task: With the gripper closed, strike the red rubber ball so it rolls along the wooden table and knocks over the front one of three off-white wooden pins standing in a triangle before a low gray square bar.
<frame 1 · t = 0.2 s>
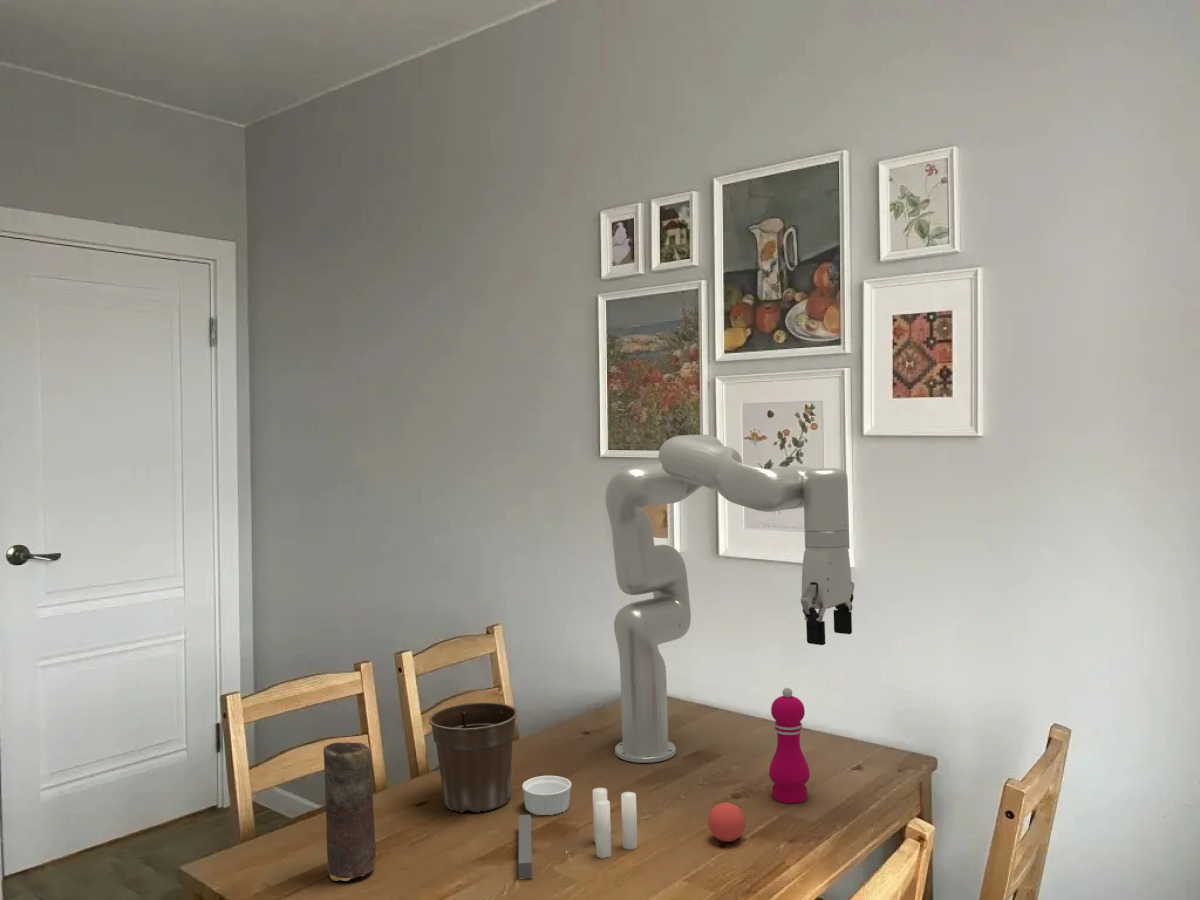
hand: (829, 638, 168), 31 cm above the table, tool pointing down, fingers open, 9 cm apart
ball: (726, 821, 159), on the table
plant pot: (476, 801, 179), on the table
pin 2: (603, 854, 155), on the table
ramekin: (547, 809, 175), on the table
pepper mill: (789, 798, 177), on the table
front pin: (630, 846, 158), on the table
gray square bar: (525, 852, 157), on the table
candle: (352, 873, 152), on the table
pin 1: (601, 841, 160), on the table
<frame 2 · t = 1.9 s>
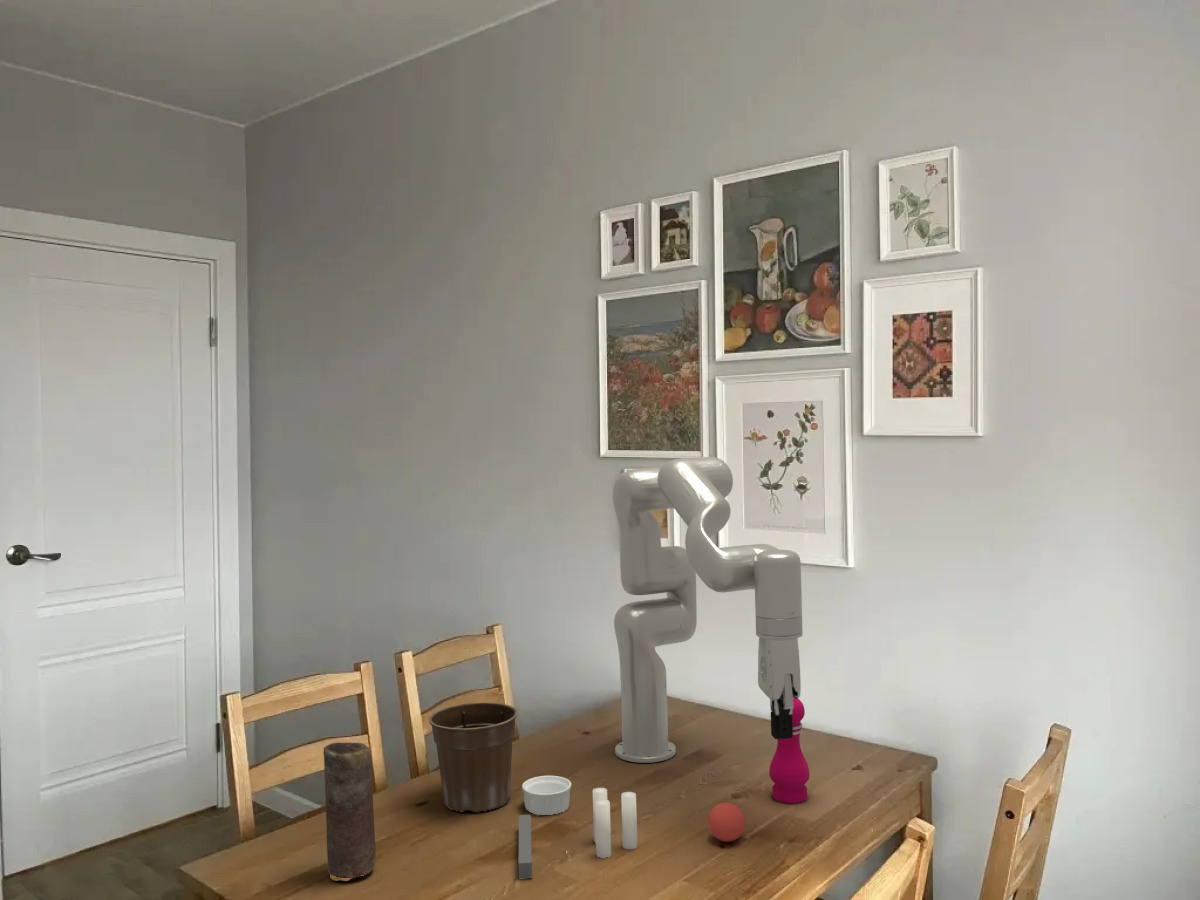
hand: (782, 736, 160), 17 cm above the table, tool pointing down, fingers closed
nothing on the table moved.
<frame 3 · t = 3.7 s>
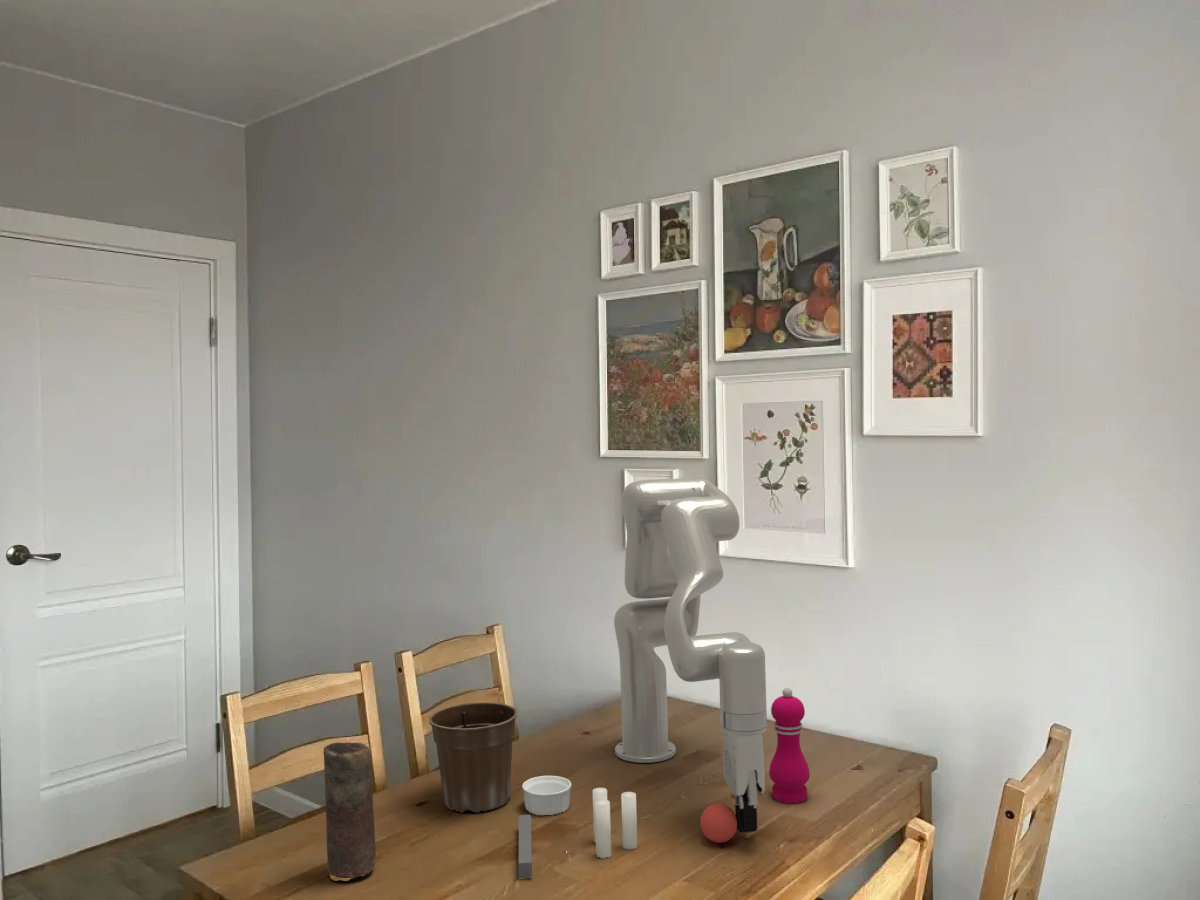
hand: (746, 829, 159), 2 cm above the table, tool pointing down, fingers closed
ball: (718, 822, 159), on the table, touching gripper
everything else where it was.
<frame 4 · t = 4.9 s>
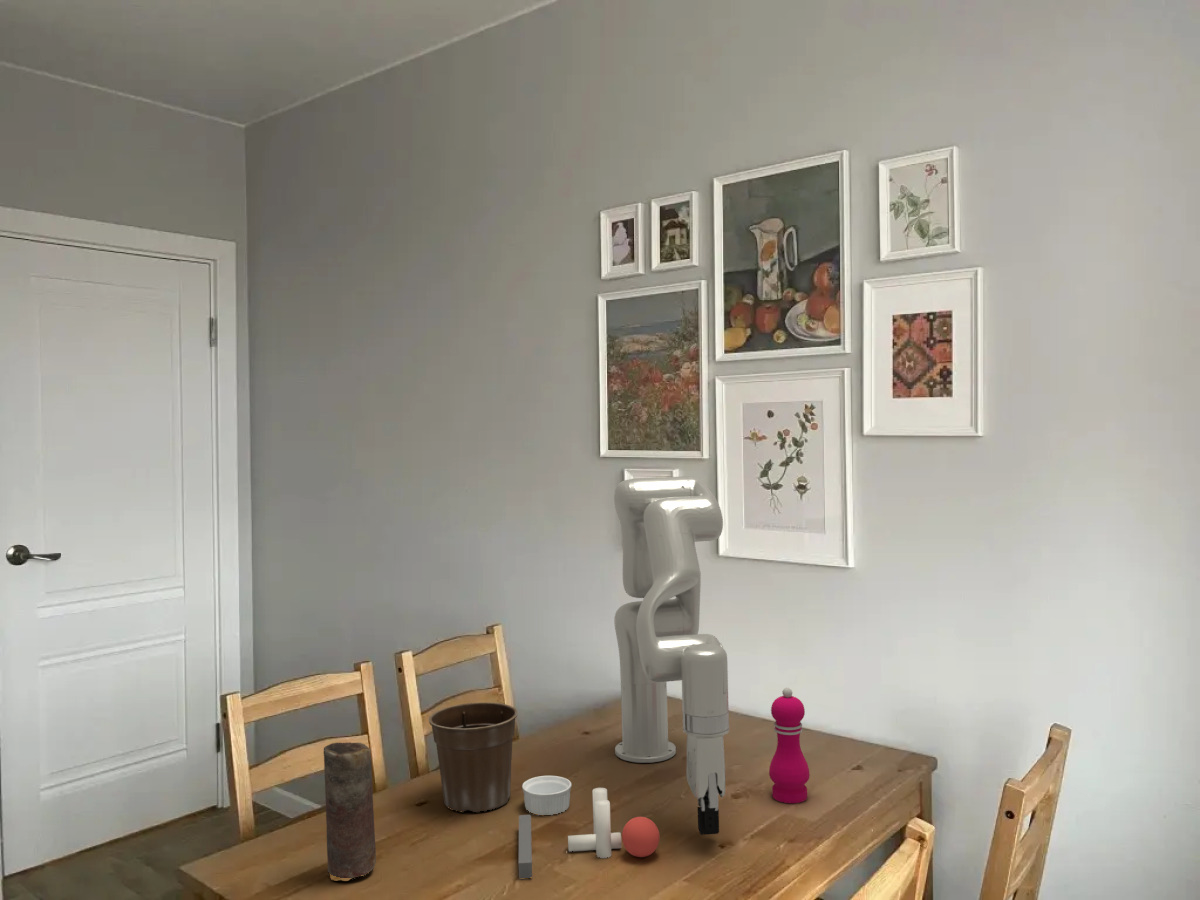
hand: (708, 832, 159), 2 cm above the table, tool pointing down, fingers closed
ball: (640, 836, 155), on the table
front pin: (620, 840, 158), point 1 cm above the table, tilted 90°
everything else where it was.
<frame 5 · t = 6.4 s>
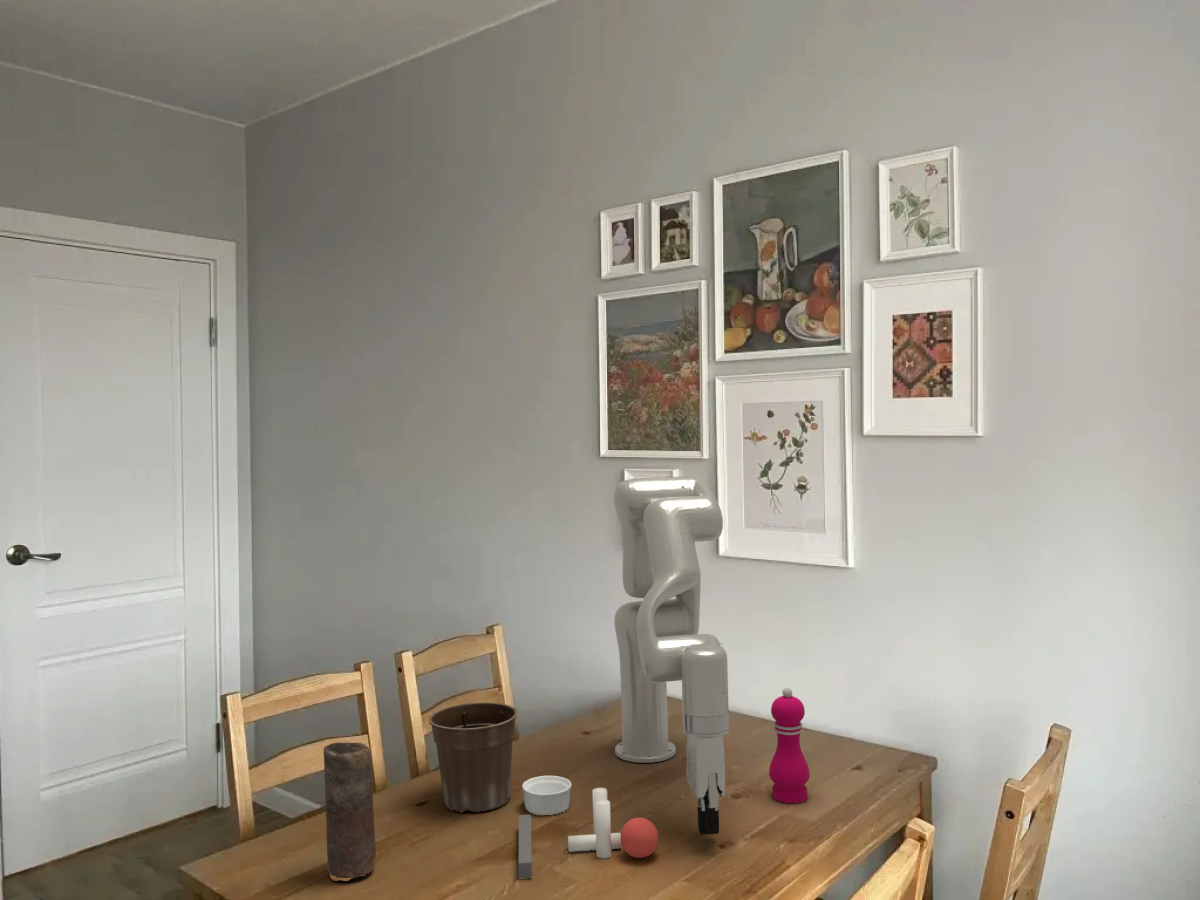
hand: (708, 832, 159), 2 cm above the table, tool pointing down, fingers closed
nothing on the table moved.
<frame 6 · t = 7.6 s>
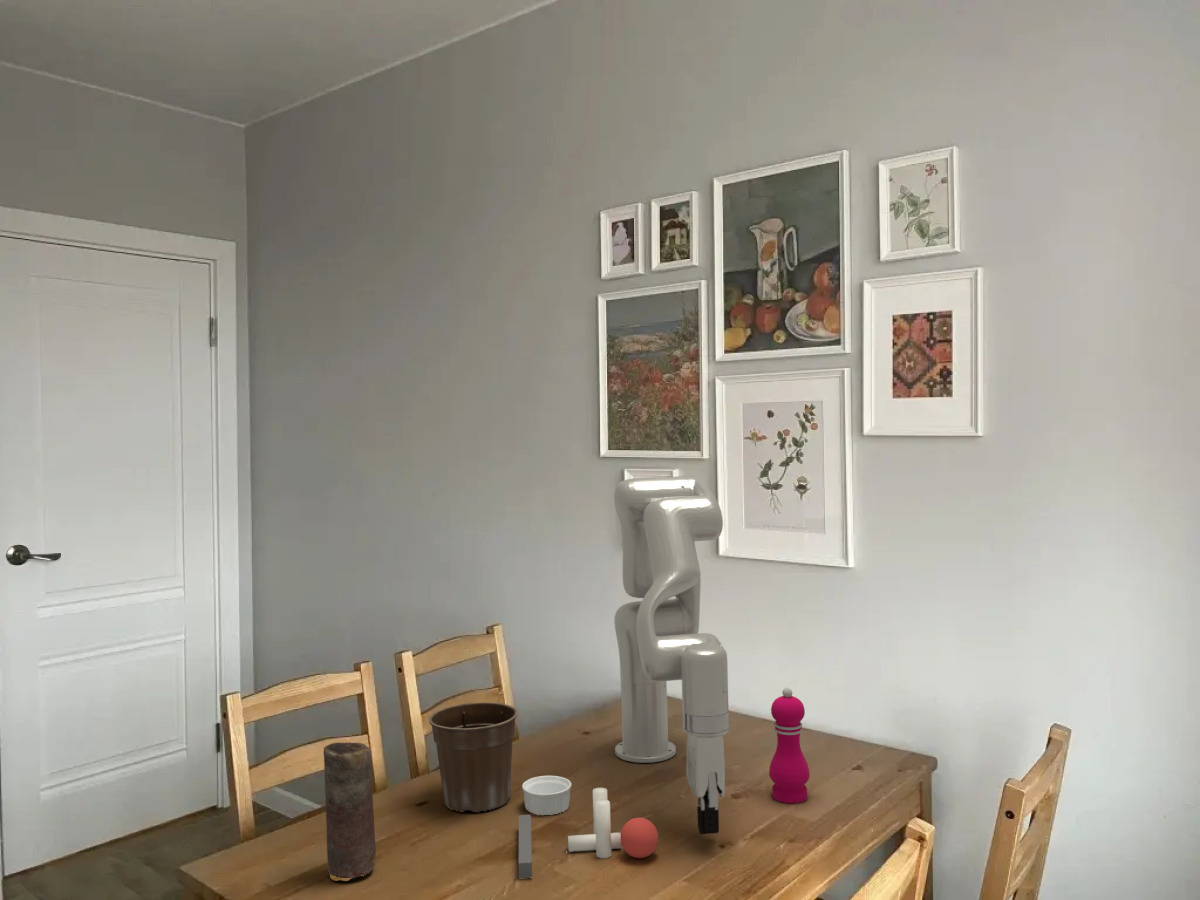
hand: (708, 831, 159), 2 cm above the table, tool pointing down, fingers closed
nothing on the table moved.
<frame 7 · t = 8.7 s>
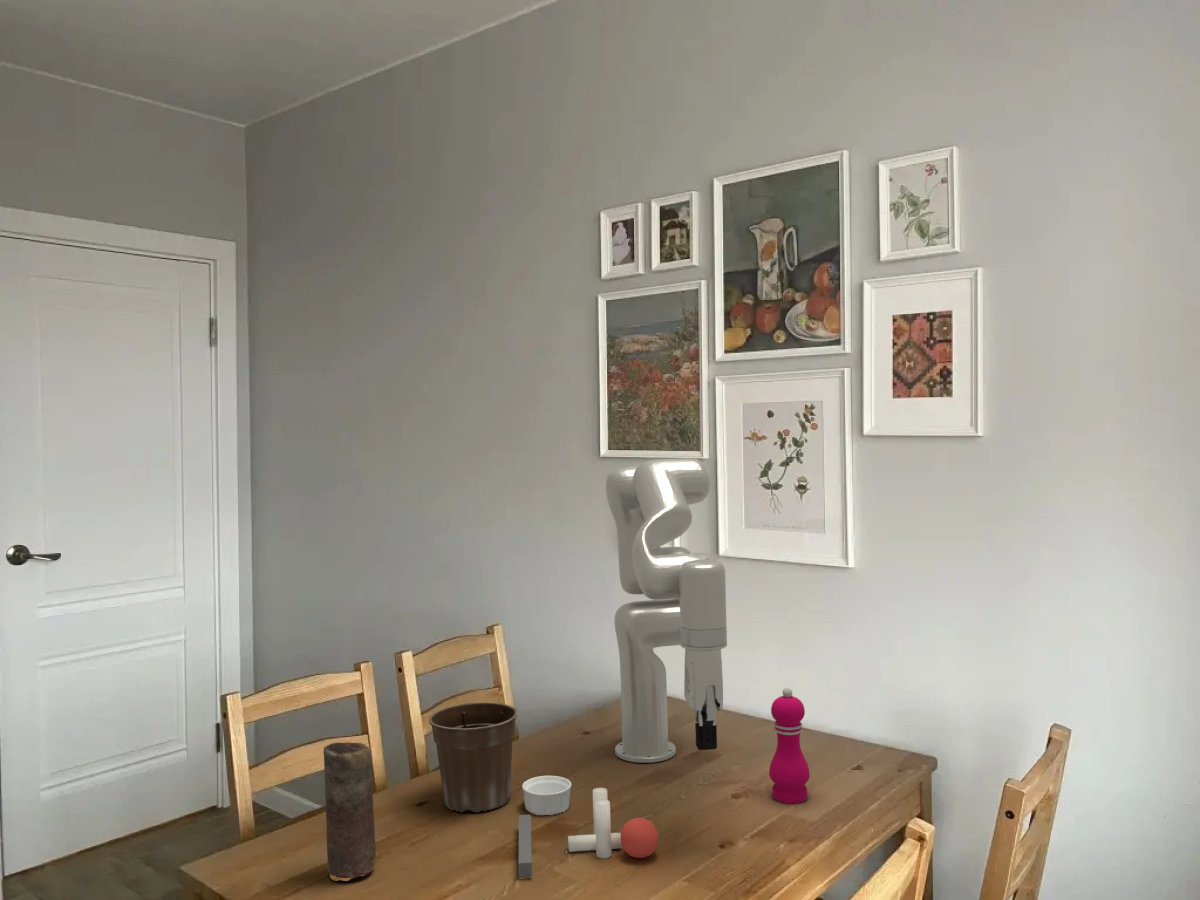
hand: (706, 747, 159), 15 cm above the table, tool pointing down, fingers closed
nothing on the table moved.
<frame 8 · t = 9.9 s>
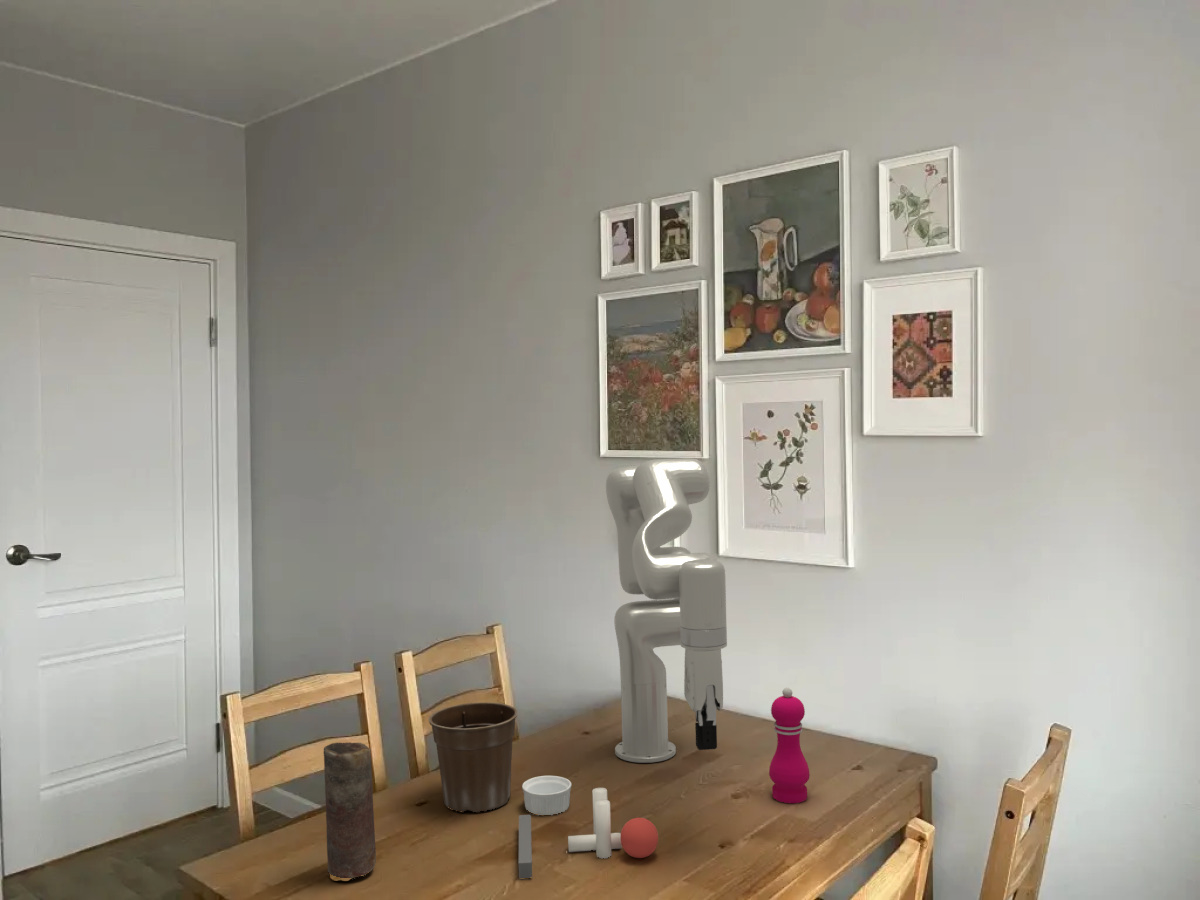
hand: (706, 747, 159), 15 cm above the table, tool pointing down, fingers closed
nothing on the table moved.
at the end: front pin tilted 90°; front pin never touched the robot; ball moved 15.3 cm from its start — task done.
